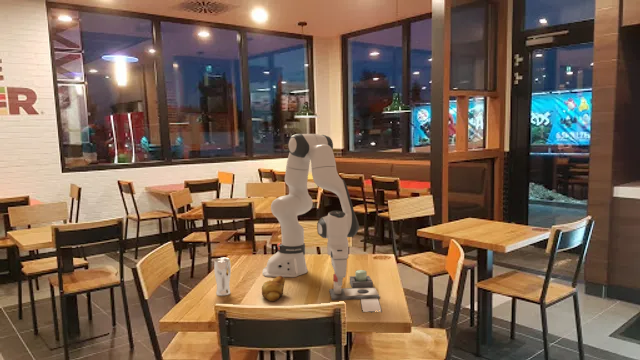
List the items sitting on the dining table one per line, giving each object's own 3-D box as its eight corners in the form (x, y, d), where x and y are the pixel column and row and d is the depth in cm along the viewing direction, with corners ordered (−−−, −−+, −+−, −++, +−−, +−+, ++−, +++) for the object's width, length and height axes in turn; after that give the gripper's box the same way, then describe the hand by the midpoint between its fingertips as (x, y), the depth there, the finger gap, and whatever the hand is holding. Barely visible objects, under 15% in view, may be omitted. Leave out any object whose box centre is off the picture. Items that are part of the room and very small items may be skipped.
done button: (356, 282, 202) (356, 273, 202) (354, 278, 207) (354, 270, 207) (367, 281, 203) (367, 273, 202) (365, 278, 208) (365, 269, 207)
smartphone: (359, 298, 191) (362, 313, 175) (359, 297, 191) (362, 312, 175) (378, 298, 190) (382, 313, 175) (378, 297, 190) (382, 312, 174)
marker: (333, 294, 192) (333, 276, 191) (333, 291, 195) (332, 273, 194) (342, 294, 192) (341, 275, 191) (340, 291, 195) (340, 273, 194)
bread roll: (281, 303, 185) (280, 284, 185) (257, 302, 186) (257, 283, 185) (286, 292, 198) (285, 274, 197) (264, 291, 199) (263, 274, 198)
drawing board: (331, 300, 188) (331, 297, 188) (329, 291, 199) (329, 288, 199) (379, 298, 189) (379, 295, 189) (374, 289, 200) (374, 286, 200)
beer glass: (223, 297, 192) (222, 263, 191) (211, 294, 196) (210, 260, 195) (234, 292, 198) (233, 259, 197) (223, 289, 202) (222, 256, 200)
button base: (352, 289, 201) (352, 282, 200) (349, 282, 210) (349, 276, 209) (372, 288, 201) (372, 282, 201) (369, 282, 210) (369, 275, 210)
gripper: (327, 244, 202) (328, 274, 203) (333, 256, 181) (333, 290, 183) (342, 243, 202) (342, 274, 203) (348, 255, 182) (349, 289, 183)
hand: (338, 281), depth 193 cm, fingers open, 8 cm apart
